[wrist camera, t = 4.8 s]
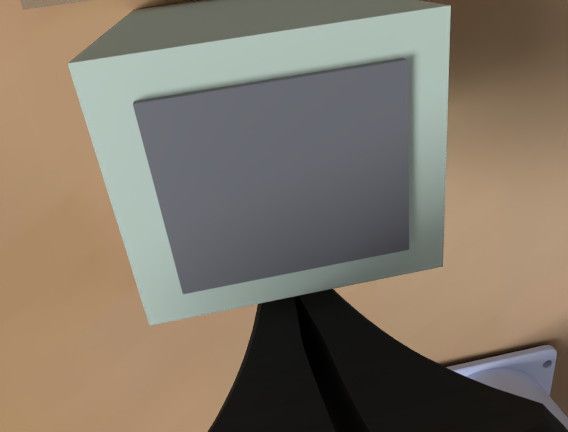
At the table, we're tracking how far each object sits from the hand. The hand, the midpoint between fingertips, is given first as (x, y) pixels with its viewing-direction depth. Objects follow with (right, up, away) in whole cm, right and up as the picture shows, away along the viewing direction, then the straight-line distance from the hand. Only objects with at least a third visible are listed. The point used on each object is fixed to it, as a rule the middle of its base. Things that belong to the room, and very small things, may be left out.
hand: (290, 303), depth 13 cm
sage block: (-2, +7, +5) cm, 9 cm away
